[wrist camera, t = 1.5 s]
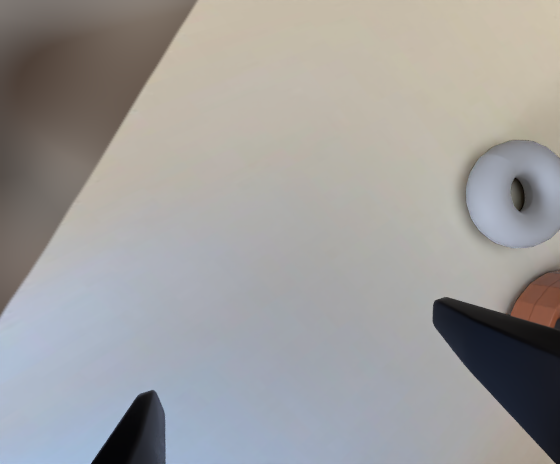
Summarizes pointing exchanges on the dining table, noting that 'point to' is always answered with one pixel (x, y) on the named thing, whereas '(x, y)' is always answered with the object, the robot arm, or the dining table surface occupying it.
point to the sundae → (557, 324)
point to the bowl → (540, 300)
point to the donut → (497, 194)
